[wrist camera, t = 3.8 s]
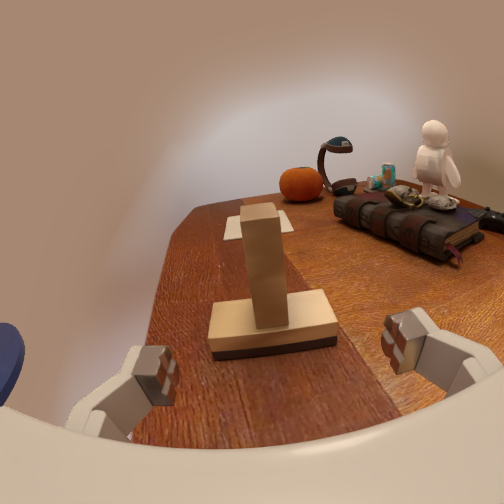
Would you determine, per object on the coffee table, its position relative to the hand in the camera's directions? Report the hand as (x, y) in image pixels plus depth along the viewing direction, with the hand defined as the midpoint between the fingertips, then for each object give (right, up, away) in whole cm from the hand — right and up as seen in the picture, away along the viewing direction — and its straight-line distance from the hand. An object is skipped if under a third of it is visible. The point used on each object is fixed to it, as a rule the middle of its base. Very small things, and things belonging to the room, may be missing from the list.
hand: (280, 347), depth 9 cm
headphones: (+22, +18, +57) cm, 64 cm away
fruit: (+12, +16, +56) cm, 60 cm away
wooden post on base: (+1, -4, +14) cm, 14 cm away
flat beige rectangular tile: (0, +9, +43) cm, 44 cm away
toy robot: (+44, +15, +45) cm, 64 cm away
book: (+26, +7, +31) cm, 41 cm away
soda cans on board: (+35, +20, +58) cm, 70 cm away
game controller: (+45, +8, +27) cm, 53 cm away
